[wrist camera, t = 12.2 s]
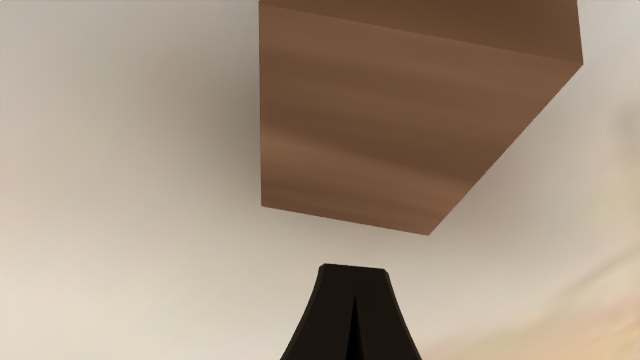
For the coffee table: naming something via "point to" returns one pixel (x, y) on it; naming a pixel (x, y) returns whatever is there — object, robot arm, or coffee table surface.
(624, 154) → the coffee table surface
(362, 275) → the robot arm
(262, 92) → the pushed domino
